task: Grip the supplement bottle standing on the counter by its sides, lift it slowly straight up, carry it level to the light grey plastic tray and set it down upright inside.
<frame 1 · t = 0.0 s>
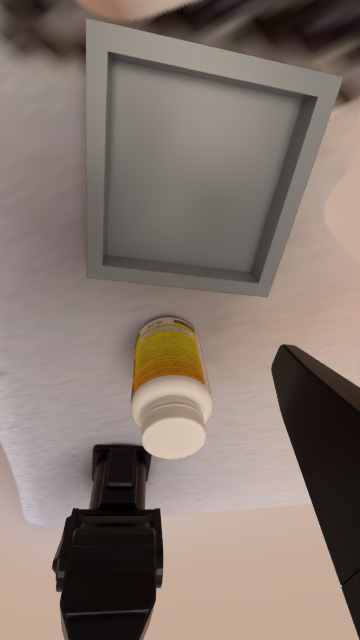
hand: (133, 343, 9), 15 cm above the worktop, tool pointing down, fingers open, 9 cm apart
tray: (193, 184, 20), on the worktop
supplement bottle: (167, 339, 27), on the worktop
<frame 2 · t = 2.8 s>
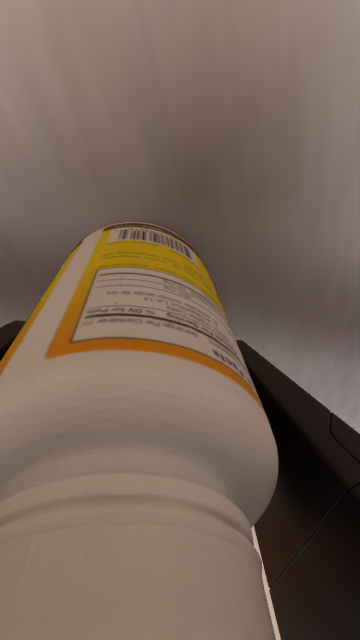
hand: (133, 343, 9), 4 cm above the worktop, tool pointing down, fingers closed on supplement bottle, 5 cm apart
supplement bottle: (139, 287, 12), on the worktop, touching gripper
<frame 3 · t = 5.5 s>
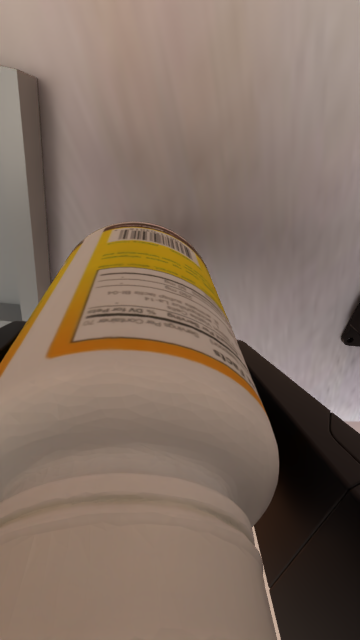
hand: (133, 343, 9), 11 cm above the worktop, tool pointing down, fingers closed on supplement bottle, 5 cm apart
supplement bottle: (139, 287, 12), point 7 cm above the worktop, touching gripper
when the fingers open (5 cm above the worktop, at t = 8.7 s): supplement bottle drops 1 cm, resting on tray.
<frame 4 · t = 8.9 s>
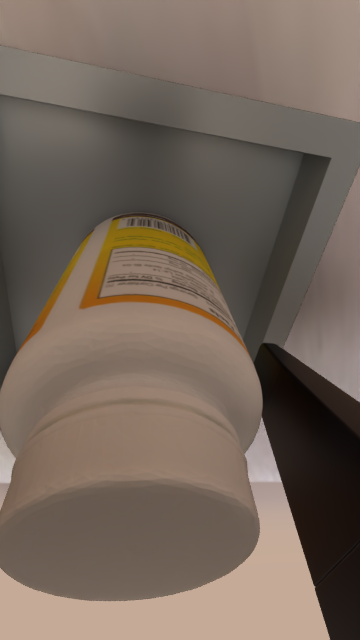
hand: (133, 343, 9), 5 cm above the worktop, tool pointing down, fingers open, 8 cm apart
tray: (139, 269, 14), on the worktop
supplement bottle: (143, 273, 13), resting on tray
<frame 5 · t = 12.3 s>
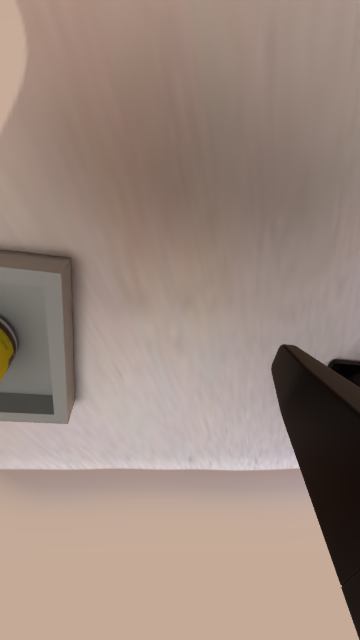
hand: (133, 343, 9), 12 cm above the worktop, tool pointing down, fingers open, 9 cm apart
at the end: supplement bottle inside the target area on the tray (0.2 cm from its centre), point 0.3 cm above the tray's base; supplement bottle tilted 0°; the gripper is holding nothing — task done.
